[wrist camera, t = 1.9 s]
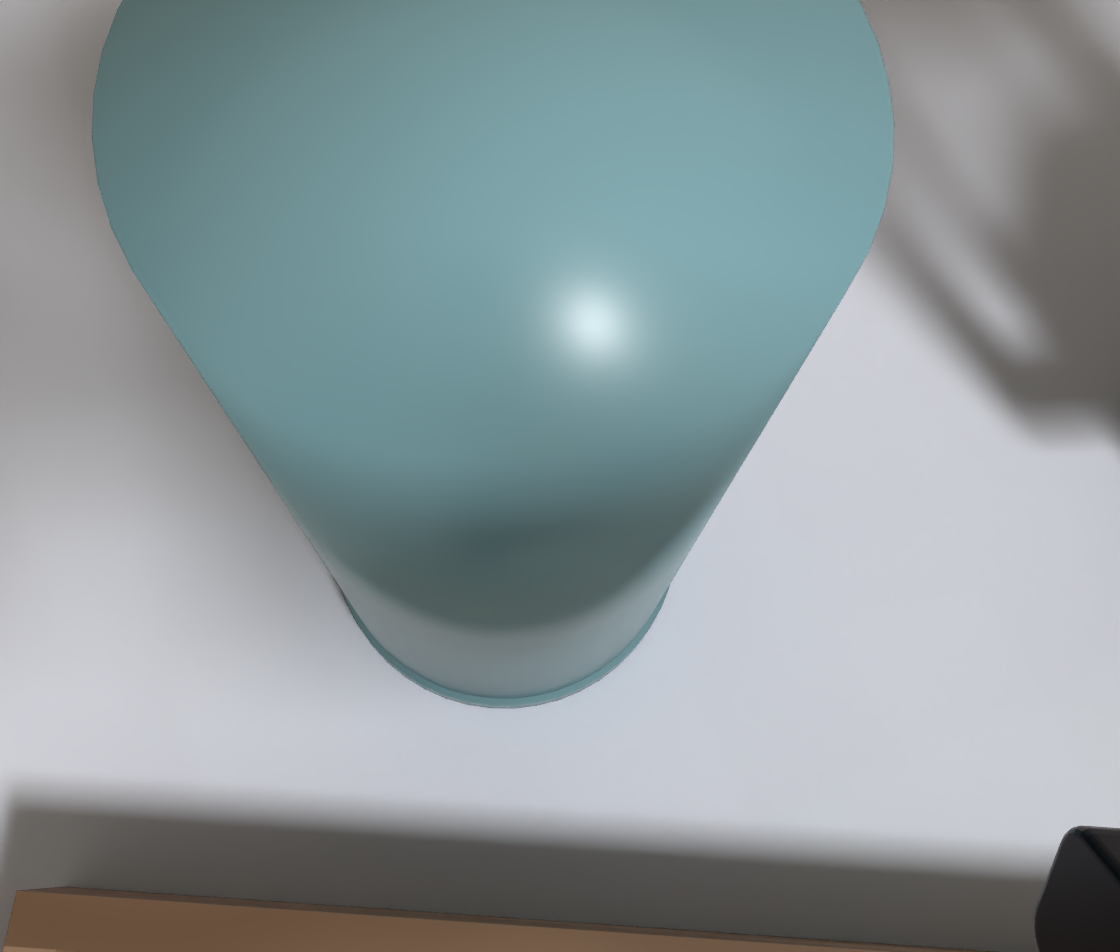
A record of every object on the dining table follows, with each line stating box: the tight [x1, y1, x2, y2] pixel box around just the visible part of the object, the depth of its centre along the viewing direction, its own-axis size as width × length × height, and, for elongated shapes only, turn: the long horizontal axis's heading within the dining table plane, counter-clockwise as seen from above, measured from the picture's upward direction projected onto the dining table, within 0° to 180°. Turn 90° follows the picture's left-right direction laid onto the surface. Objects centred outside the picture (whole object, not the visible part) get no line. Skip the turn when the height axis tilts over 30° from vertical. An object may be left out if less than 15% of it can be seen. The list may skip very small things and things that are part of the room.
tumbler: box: [92, 0, 894, 708], centre depth 14 cm, size 7×7×13 cm
